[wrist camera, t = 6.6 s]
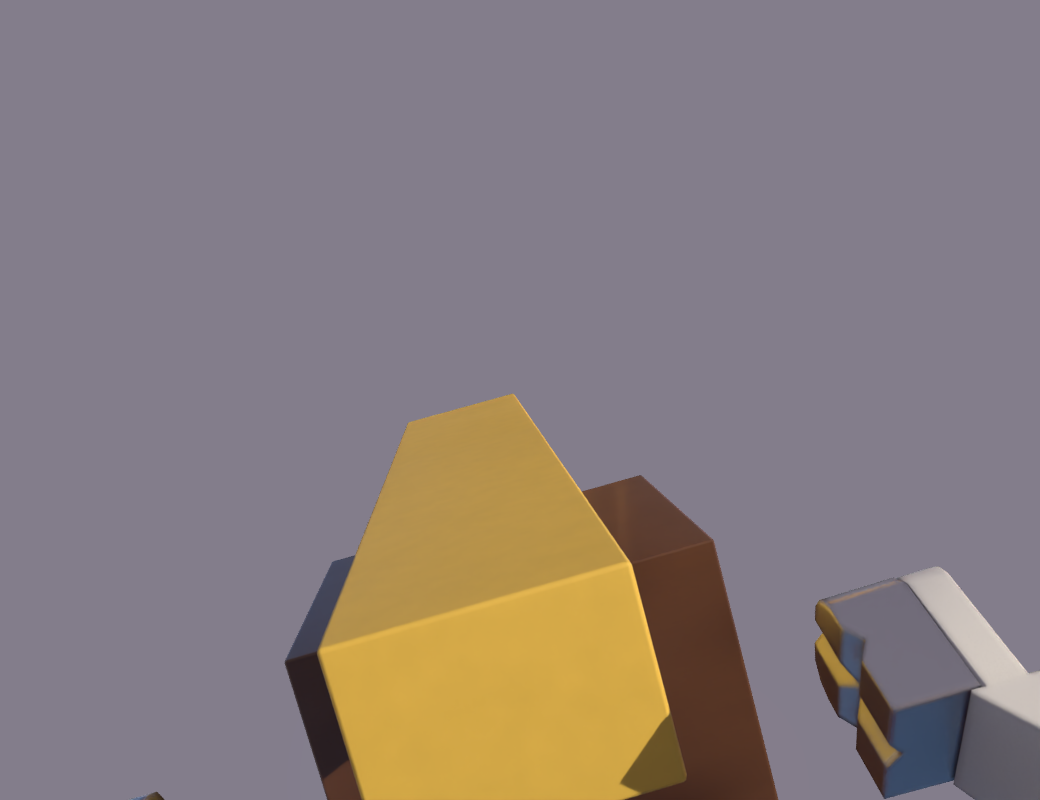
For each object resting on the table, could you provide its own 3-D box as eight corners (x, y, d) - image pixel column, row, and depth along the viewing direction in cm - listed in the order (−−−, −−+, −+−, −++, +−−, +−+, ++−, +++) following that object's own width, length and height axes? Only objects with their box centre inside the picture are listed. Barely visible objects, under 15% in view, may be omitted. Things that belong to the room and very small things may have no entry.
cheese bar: (383, 874, 11) (313, 650, 11) (429, 501, 33) (407, 422, 33) (689, 783, 11) (631, 560, 11) (535, 471, 33) (514, 393, 33)
